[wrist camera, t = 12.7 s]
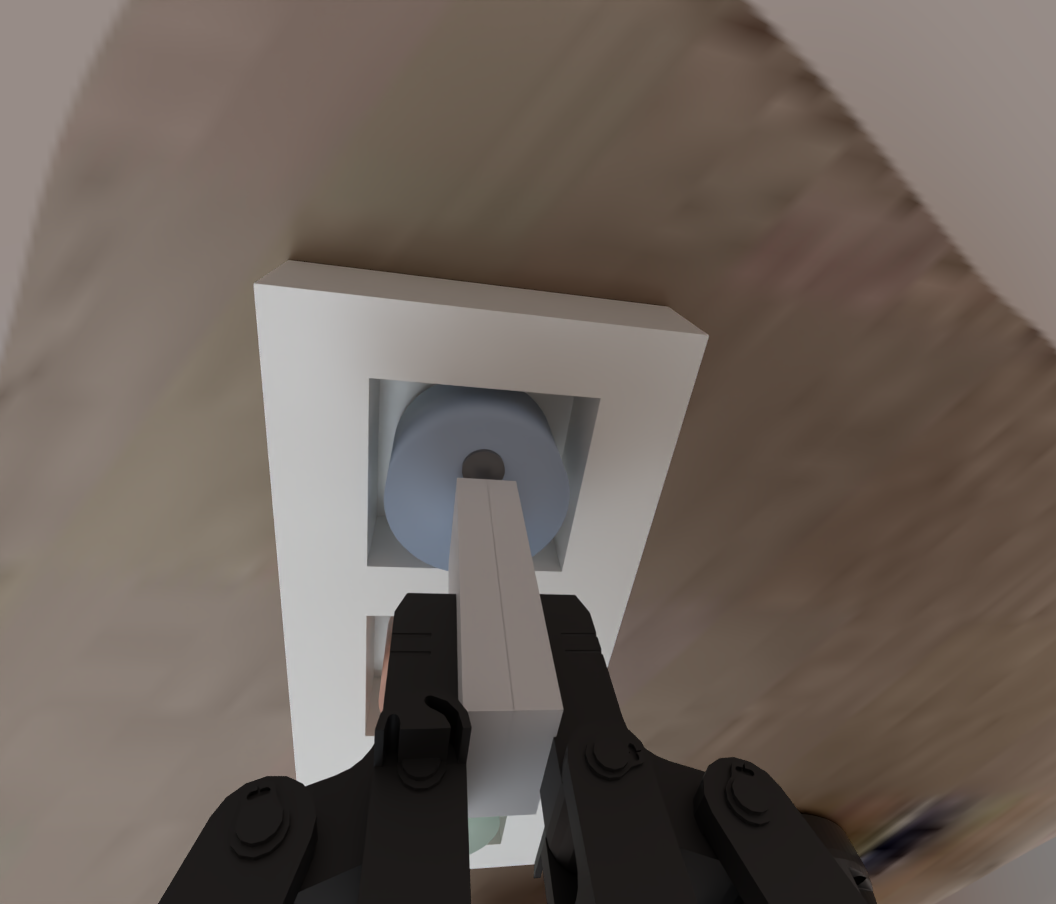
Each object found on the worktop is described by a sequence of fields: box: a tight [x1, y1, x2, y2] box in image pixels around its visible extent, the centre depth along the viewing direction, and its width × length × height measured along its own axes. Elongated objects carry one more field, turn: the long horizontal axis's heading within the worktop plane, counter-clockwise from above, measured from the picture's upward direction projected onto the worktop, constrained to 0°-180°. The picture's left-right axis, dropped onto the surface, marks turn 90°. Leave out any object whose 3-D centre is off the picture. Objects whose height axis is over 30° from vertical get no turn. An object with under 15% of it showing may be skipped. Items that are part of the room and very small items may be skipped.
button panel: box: [254, 260, 709, 869], centre depth 20 cm, size 11×26×3 cm, turn 171°
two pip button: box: [384, 384, 570, 571], centre depth 16 cm, size 5×5×3 cm
